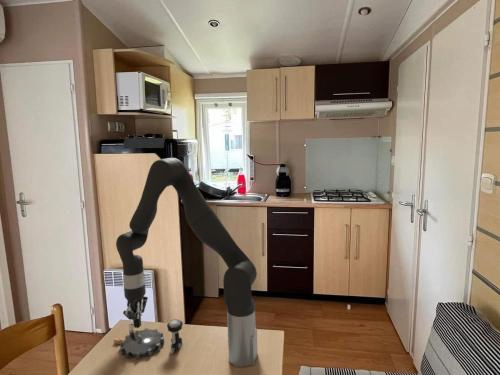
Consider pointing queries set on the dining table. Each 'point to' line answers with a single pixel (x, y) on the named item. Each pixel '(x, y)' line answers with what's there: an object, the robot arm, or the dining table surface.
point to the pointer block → (117, 340)
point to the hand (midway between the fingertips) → (137, 326)
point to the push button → (175, 334)
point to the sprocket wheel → (141, 342)
